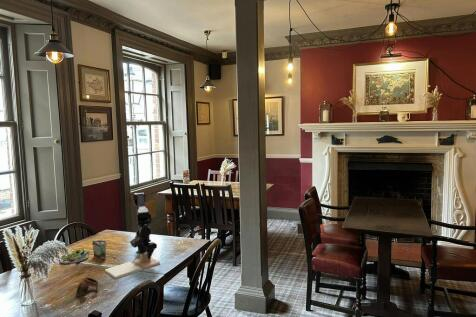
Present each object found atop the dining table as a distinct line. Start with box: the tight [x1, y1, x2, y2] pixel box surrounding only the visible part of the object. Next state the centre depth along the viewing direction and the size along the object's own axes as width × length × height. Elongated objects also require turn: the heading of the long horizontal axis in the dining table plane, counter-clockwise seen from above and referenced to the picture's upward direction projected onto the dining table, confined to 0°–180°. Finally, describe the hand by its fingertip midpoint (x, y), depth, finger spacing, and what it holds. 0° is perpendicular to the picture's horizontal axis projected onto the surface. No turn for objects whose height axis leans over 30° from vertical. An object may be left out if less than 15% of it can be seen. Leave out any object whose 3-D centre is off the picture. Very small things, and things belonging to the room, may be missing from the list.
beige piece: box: [131, 252, 161, 270], centre depth 207 cm, size 14×11×6 cm
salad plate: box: [59, 247, 91, 265], centre depth 217 cm, size 19×18×5 cm
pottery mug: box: [76, 277, 99, 297], centre depth 171 cm, size 12×10×8 cm
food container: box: [91, 239, 108, 261], centre depth 219 cm, size 12×6×10 cm, turn 47°
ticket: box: [104, 261, 143, 280], centre depth 197 cm, size 14×16×1 cm
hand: (145, 257), depth 207 cm, fingers open, 9 cm apart
